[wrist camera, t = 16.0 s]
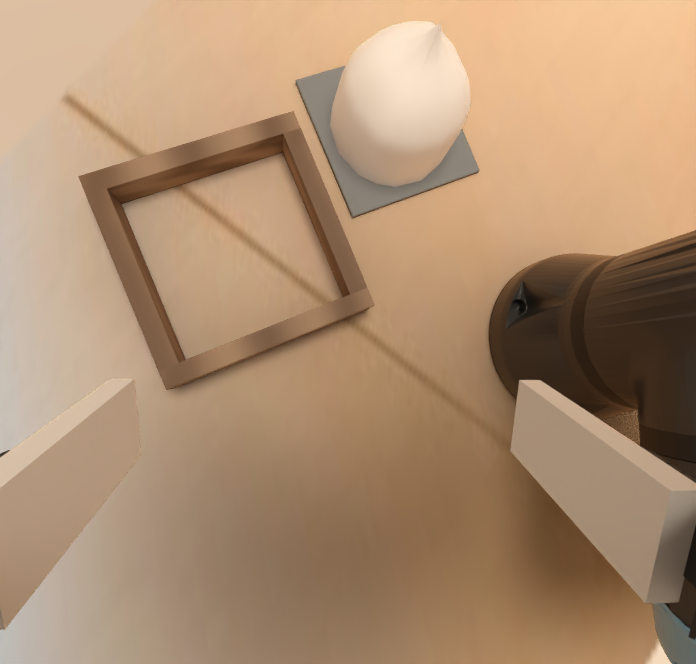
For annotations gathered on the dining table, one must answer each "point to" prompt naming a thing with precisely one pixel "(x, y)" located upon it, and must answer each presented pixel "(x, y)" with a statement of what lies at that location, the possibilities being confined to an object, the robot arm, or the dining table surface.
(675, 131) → the dining table surface
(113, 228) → the walnut collar
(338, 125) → the teardrop
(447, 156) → the grey mat
